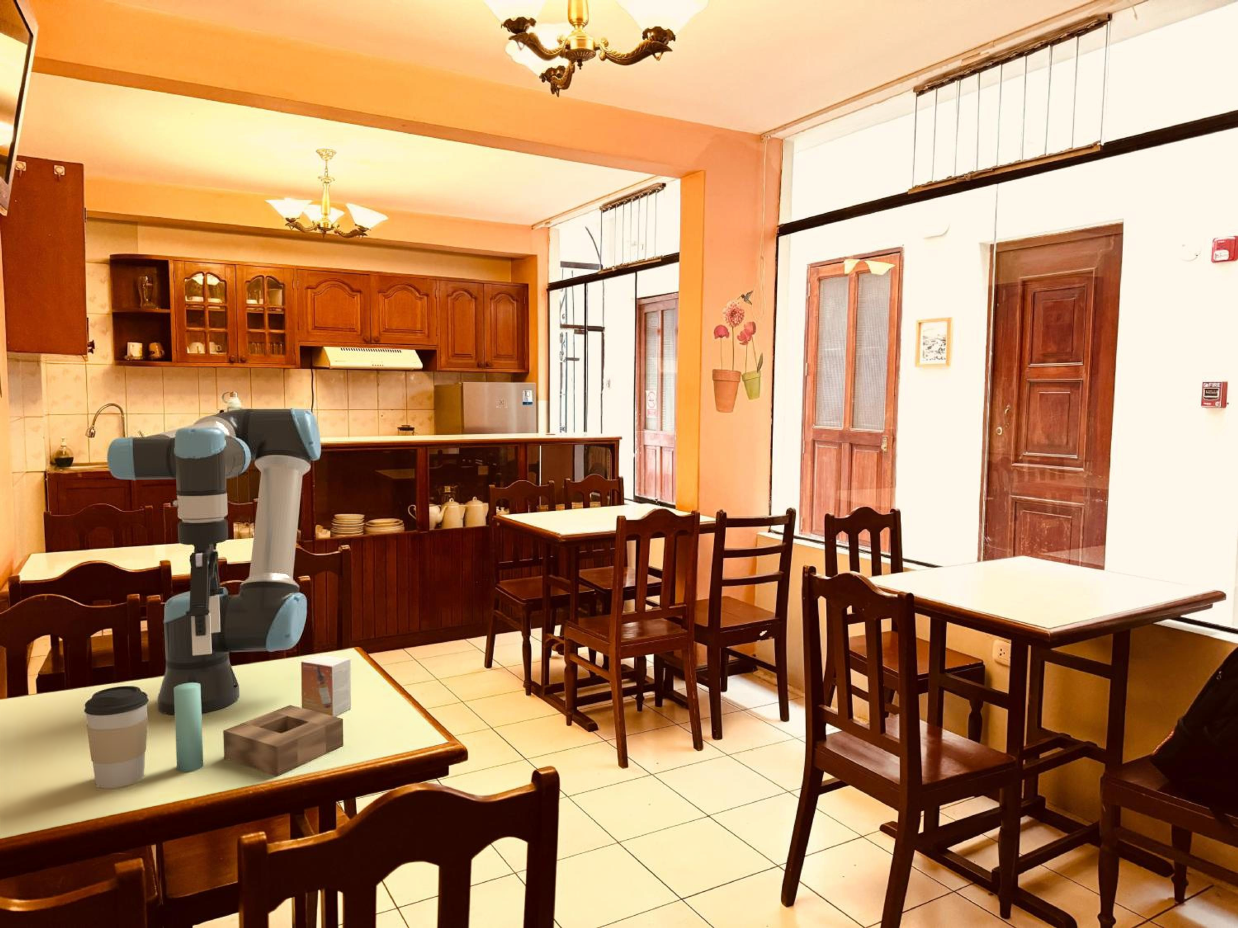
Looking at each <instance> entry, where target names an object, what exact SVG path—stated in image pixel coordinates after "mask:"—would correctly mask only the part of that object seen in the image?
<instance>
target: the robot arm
mask: <svg viewBox="0 0 1238 928" xmlns="http://www.w3.org/2000/svg"><path fill="white" fill-rule="evenodd" d="M321 453H322V443H321V435H320V429H319V425H318V421H317V419H316V417H315V415H314V413H313V412H312V411H310V410H308V409H304V408H293V407H292V408H291V407H290V408H239V409H237V408H236V409H232V410H228V411H224V412H220V413H219V412H218V413H215V414H212V415H209V416H208V415H207V416H204V417H201V418H200V419H198V420H196V421H195V422H194V423H193V425H191V424H190V425H188V426H184V427H180V428H175V429H173V430H169V431H165V432H160V433H157V434H153V435H152V434H151V435H148V436H139V437H138V436H131V435H130V436H129V437H117V438H115V439H113V440H112V441H111V443H110V445H109V446H108V449H107V454H106V461H107V467H108V470H109V472H110V473H111V475H112V476H113V477H114V478H115V479H118V480H132V481H137V480H176V500H173V502H172V505H173V506H174V507H178V508H177V518H178V519H180V521H179V522H178V523H177V534H178V535H177V537H178V538H177V540H178V543H179V544H181V545H184V546H190V545H191V546H193V548H194V549H193V552H192V553H191V554H190V555H189V564H190V570H189V571H190V572H189V573H190V574H189V575H190V581H189V583H190V584H189V591H186V592H181V593H178V594H176V595H173V596H172V597H170V598H169V599H167V600H166V602H165V604H164V610H163V611H164V615H163V616H164V617H163V618H164V619H163V624H164V625H163V627H164V647H165V648H164V649H165V672H164V676H163V679H162V683H161V686H160V689H159V693H158V694H157V709H158V711H160V712H161V713H164V714H167V715H175V706H174V687H176V686H178V685H181V684H185V683H199V684H200V686H201V714H202V713H208V712H213V711H216V710H219V709H220V710H221V709H222V708H226V707H228V706H230V705H232V704H234V703H236V702H237V700H239V698H240V684H239V682H238V680H237V677H236V675H235V672H234V670H233V667H232V665H231V663H230V662H231V661H230V653H236V652H237V653H239V652H241V653H242V652H243V653H244V652H267V651H268V652H269V653H270V652H271V653H272V652H275V651H285V650H290V649H293V647H295V646H296V644H298V642H299V641H300V640H301V636H302V633H303V631H304V628H305V624H306V619H307V614H308V611H307V610H308V609H307V607H308V603H307V602H308V601H307V597H306V596H305V594H304V593H301V592H300V585H299V584H298V583H297V582H296V581H295V580H294V568H295V560H296V558H295V557H296V548H297V547H296V545H297V537H298V535H297V534H298V526H299V515H300V504H301V497H302V495H301V494H302V485H303V476H304V475H305V474H307V473H308V472H309V471H310V470H311V467H312V466H311V465H312V461H313V462H314V461H318V460H320V457H321ZM251 461H254V466H255V467H256V468H257V469H258V471H260V479H259V480H260V481H259V488H258V489H259V490H258V497H257V504H256V505H257V507H256V514H255V522H254V523H255V524H254V533H253V541H252V549H251V559H250V568H249V576H248V577H247V578H246V579H245V580H243V582H241V584H240V585H239V591H238V594H228V593H229V591H228V590H227V588H226V587H225V586H221V583H220V575H219V562H218V561H219V552H218V551H217V545H218V544H221V543H224V542H226V541H227V540H228V538H229V526H228V523H229V522H228V521H229V520H227V519H226V516H227V515H228V513H229V512H228V510H229V509H228V493H227V479H234V478H235V477H237V476H239V475H241V474H242V473H244V472H245V471H246V470H247V469H248V468H249V466H250V464H251Z"/></svg>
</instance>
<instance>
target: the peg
mask: <svg viewBox="0 0 1238 928" xmlns="http://www.w3.org/2000/svg"><path fill="white" fill-rule="evenodd" d="M174 706H175V714H174V724H175V725H174V726H175V727H174V731H175V750H176V751H175V753H176V754H175V755H176V757H175V759H176V771H177V772H179V773H189V772H194V771H197V770H199V769H201V768H202V767H203V766H204V748H203V745H204V744H203V724H202V723H203V721H202V720H203V718H202V713H201V686H200V684H199V683H185V684H181V685H178V686H176V687H174Z"/></svg>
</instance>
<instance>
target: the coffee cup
mask: <svg viewBox="0 0 1238 928" xmlns="http://www.w3.org/2000/svg"><path fill="white" fill-rule="evenodd" d="M149 700H150V699H149V698H148V693H147V692H145V691H142V690H141V688H140V687H138V686H133V685H121V686H114V687H113V686H112V687H109V688H104V689H102V690H98V691H96V692H94V693H93V694H92V696H91V698H89V699H88V700H87V701H86V702H85V703H84V710H83V711H84V713H85V715H86V731H87V737H88V738H87V739H88V745H89V753H90V759H91V760H90V761H91V762H92V766H93V773H94V774H93V775H94V783H95V786H96V787H97V788H101V789H117V788H118V789H119V788H123V787H127V786H129V785H132V784H135V783H137V782H139V781H140V780H141V779H143V778H144V776H145V761H146V752H147V739H148V738H147V737H148V717H149V716H148V715H149V714H148V712H147V711H148V703H149V702H150V701H149Z"/></svg>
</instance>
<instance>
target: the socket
mask: <svg viewBox="0 0 1238 928" xmlns="http://www.w3.org/2000/svg"><path fill="white" fill-rule="evenodd" d="M222 732H223V733H222V734H223V758H224V760H225V759H226V760H229V761H231V762H234V763H238V764H240V765H244V766H246V767H247V766H248V767H250V768H253V769H256V770H258V771H259V770H260V771H261V772H262V771H263V772H265V773H268V774H271V775H274V776H277V777H279V776H281V775H284V774H285V773H288V772H289V771H292V770H294V769H296V768H299V767H300V766H303V765H305V764H307V763H309V762H311V761H313V760H315V759H317V758H320V757H322V756H324V755H326V754H329V753H330V752H333V751H335V750H337V749H339V748H341V747H343V746H344V718H342V717H337V716H335V717H334V716H331V715H327V714H323V713H319V712H315V711H312V710H308V709H304V708H302V707H299V706H296V705H292V704H289V705H287V706H284V707H281V708H277V709H276V710H272V711H270V712H268V713H265V714H262V715H260V716H258V717H255V718H252V719H250V720H247V721H244V722H241V723H239V724H237V725H234V726H231V727H227V728H226V729H223V731H222Z"/></svg>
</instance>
